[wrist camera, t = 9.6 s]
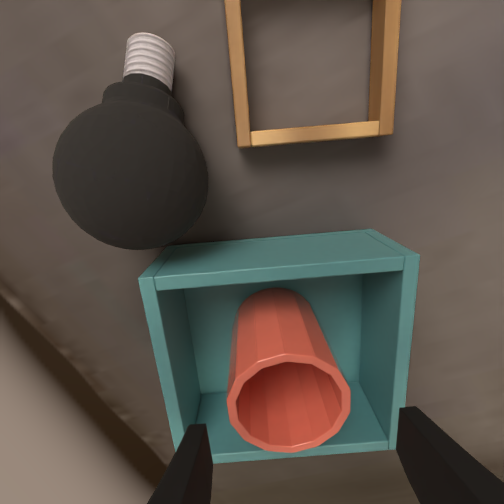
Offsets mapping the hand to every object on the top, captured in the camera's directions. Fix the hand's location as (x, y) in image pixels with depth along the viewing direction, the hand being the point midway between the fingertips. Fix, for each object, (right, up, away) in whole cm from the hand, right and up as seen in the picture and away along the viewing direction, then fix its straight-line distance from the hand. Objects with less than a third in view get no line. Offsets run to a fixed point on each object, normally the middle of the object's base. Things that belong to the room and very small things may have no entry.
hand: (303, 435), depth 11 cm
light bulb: (-7, +12, +5) cm, 15 cm away
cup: (0, +2, +8) cm, 8 cm away
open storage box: (0, +2, +8) cm, 9 cm away
